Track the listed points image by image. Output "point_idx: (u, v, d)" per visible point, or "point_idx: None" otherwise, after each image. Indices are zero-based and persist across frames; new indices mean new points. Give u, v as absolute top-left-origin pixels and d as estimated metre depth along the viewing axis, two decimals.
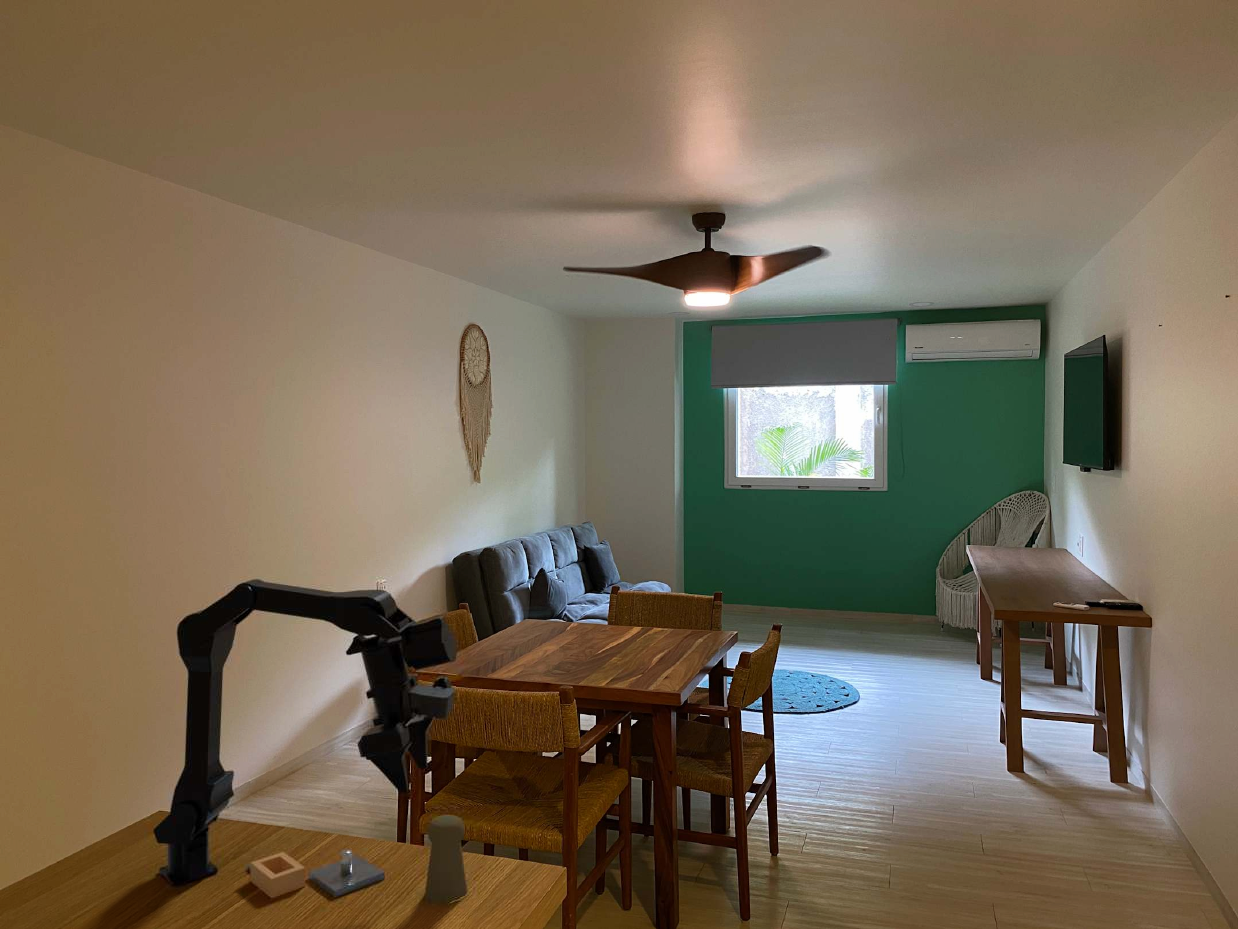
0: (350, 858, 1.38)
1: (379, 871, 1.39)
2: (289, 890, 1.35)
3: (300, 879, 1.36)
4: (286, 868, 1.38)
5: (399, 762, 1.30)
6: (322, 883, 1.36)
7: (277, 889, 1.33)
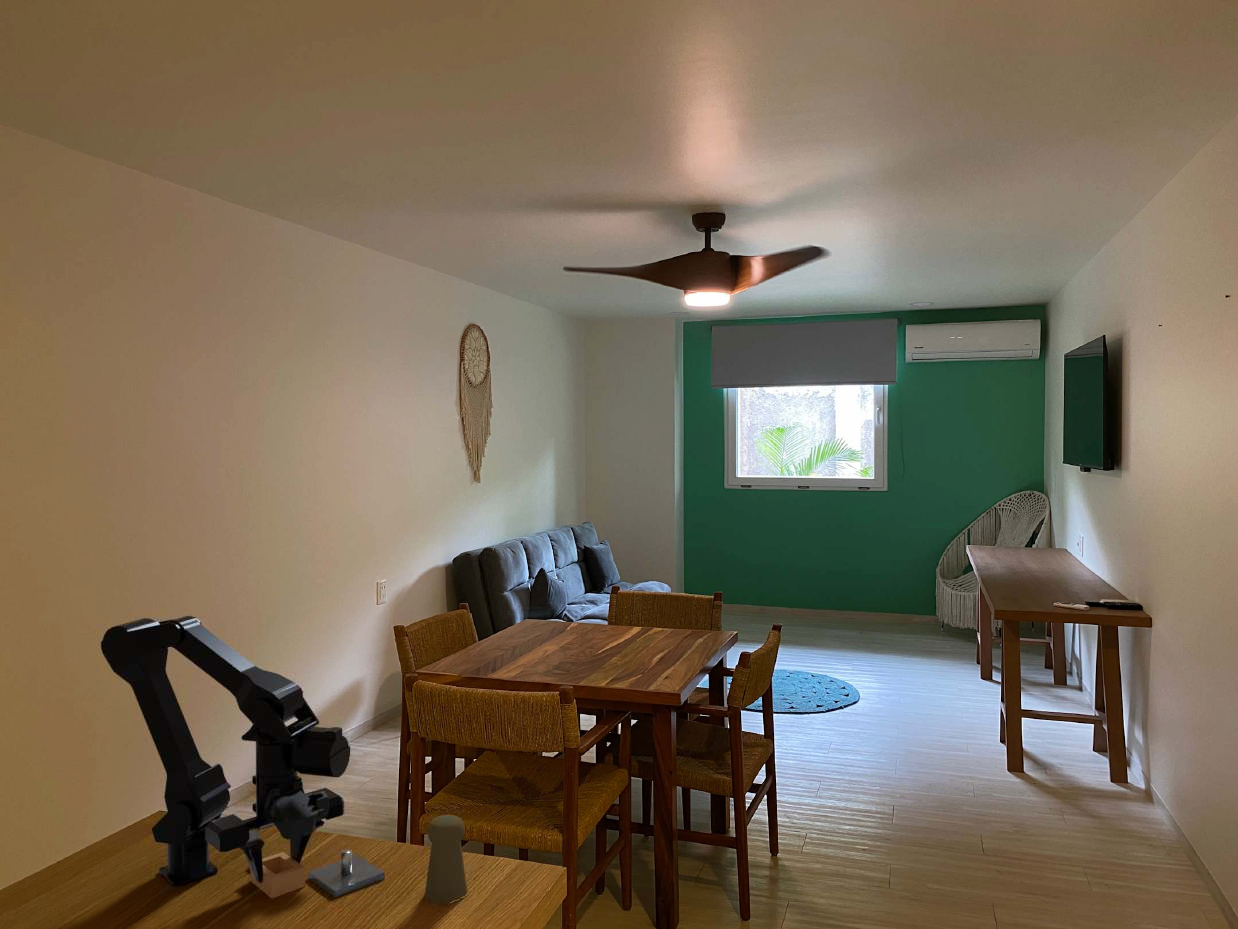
0: (350, 858, 1.38)
1: (379, 871, 1.39)
2: (289, 890, 1.35)
3: (300, 879, 1.36)
4: (286, 868, 1.38)
5: (251, 855, 1.33)
6: (322, 883, 1.36)
7: (277, 889, 1.33)
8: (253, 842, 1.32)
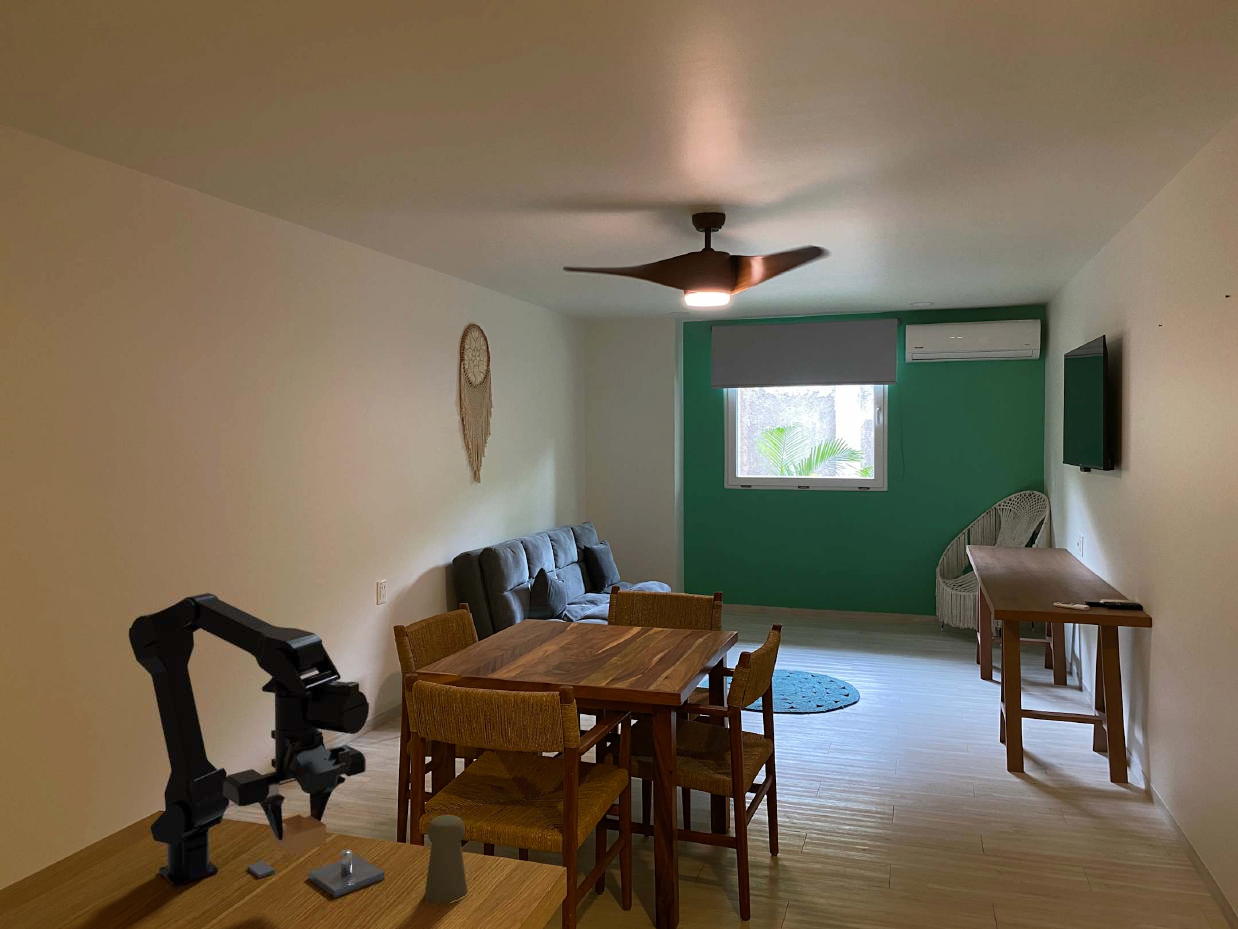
0: (350, 858, 1.38)
1: (379, 871, 1.39)
2: (310, 848, 1.30)
3: (321, 837, 1.31)
4: (306, 827, 1.34)
5: (270, 811, 1.28)
6: (322, 883, 1.36)
7: (298, 846, 1.29)
8: (273, 797, 1.27)
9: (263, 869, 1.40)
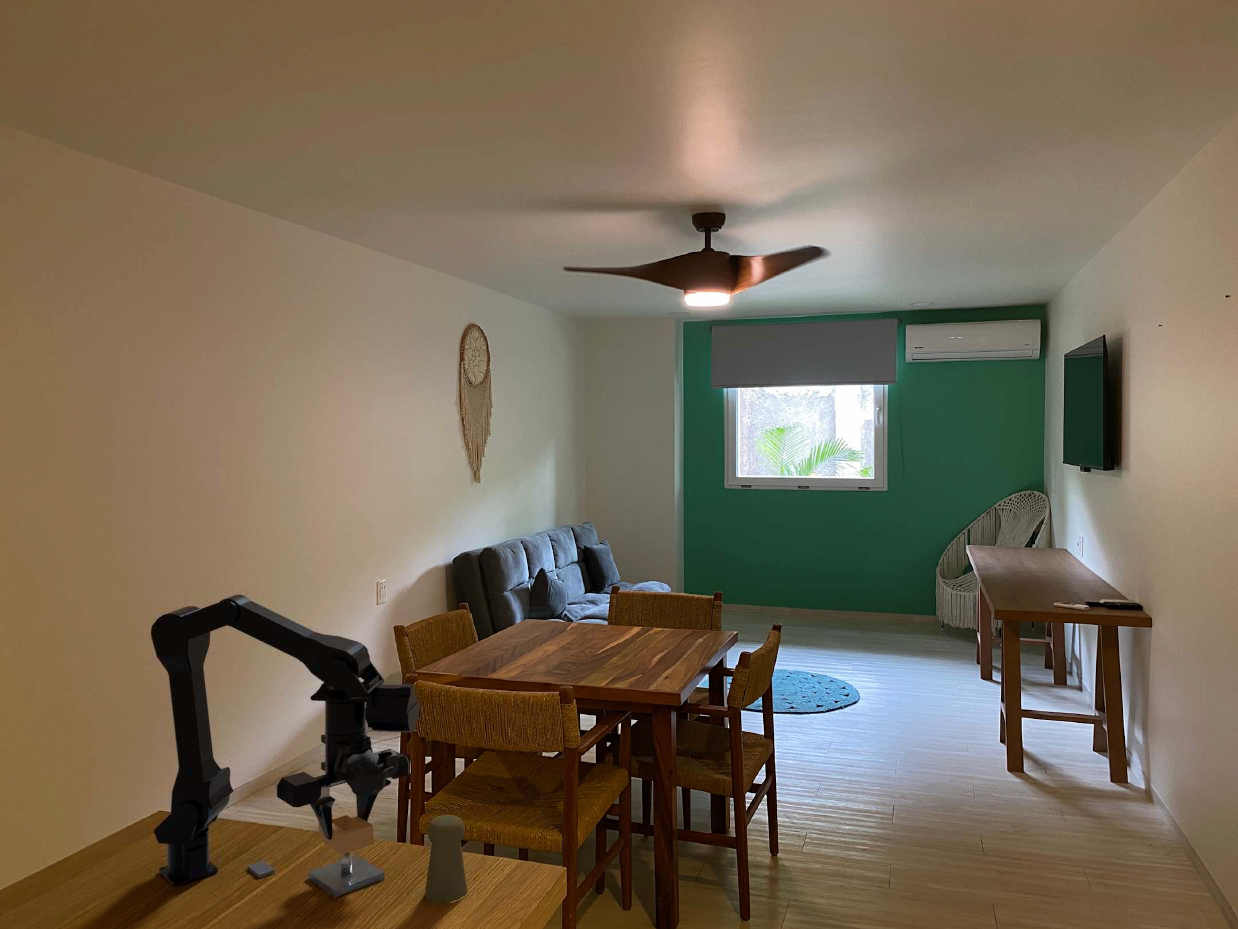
0: (350, 858, 1.38)
1: (379, 871, 1.39)
2: (358, 847, 1.36)
3: (369, 836, 1.37)
4: (353, 827, 1.40)
5: (321, 812, 1.34)
6: (322, 883, 1.36)
7: (347, 845, 1.35)
8: (324, 799, 1.33)
9: (263, 869, 1.40)
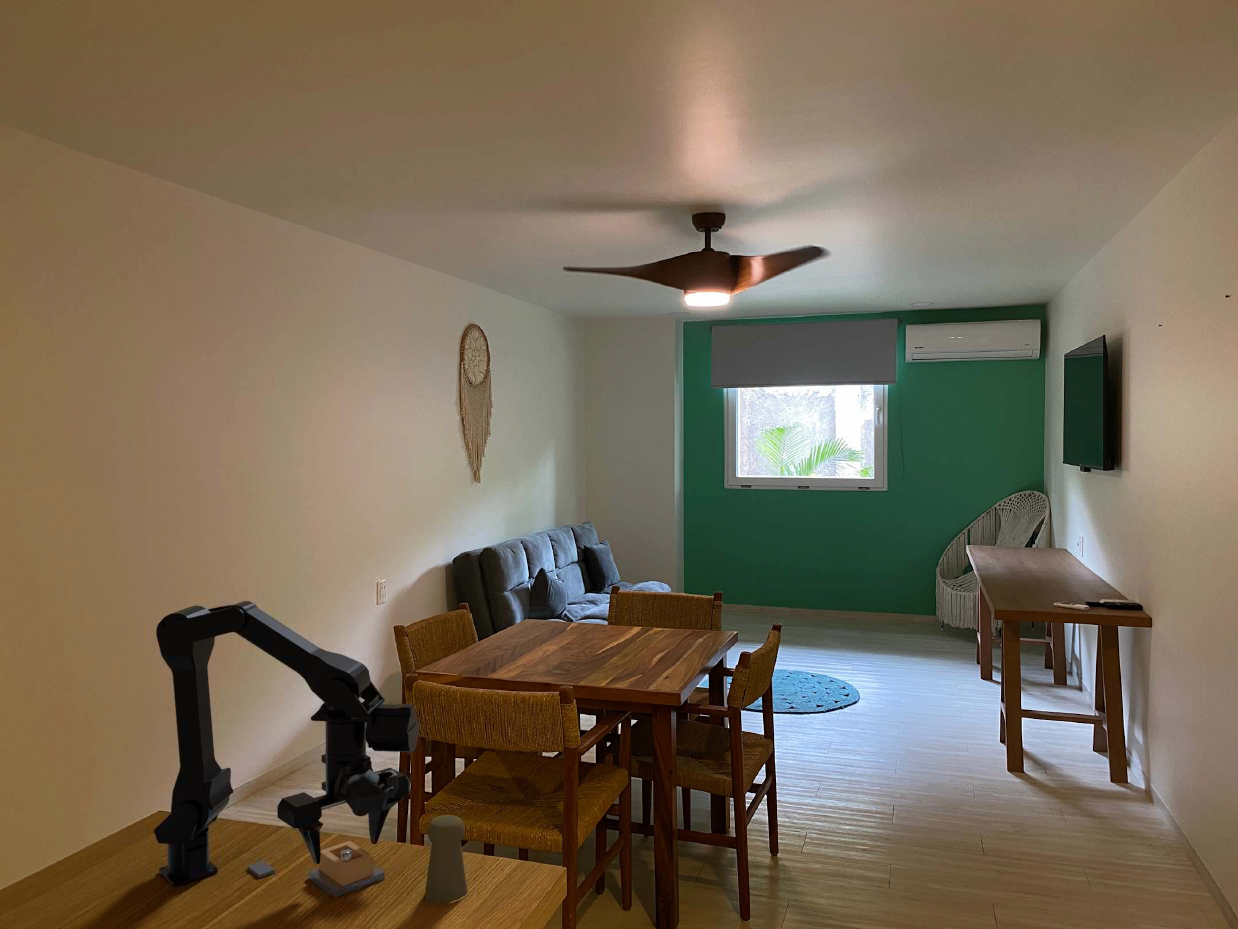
0: (350, 858, 1.38)
1: (379, 871, 1.39)
2: (359, 878, 1.36)
3: (369, 867, 1.37)
4: (353, 857, 1.40)
5: (309, 836, 1.33)
6: (322, 883, 1.36)
7: (347, 877, 1.35)
8: (312, 823, 1.32)
9: (263, 869, 1.40)
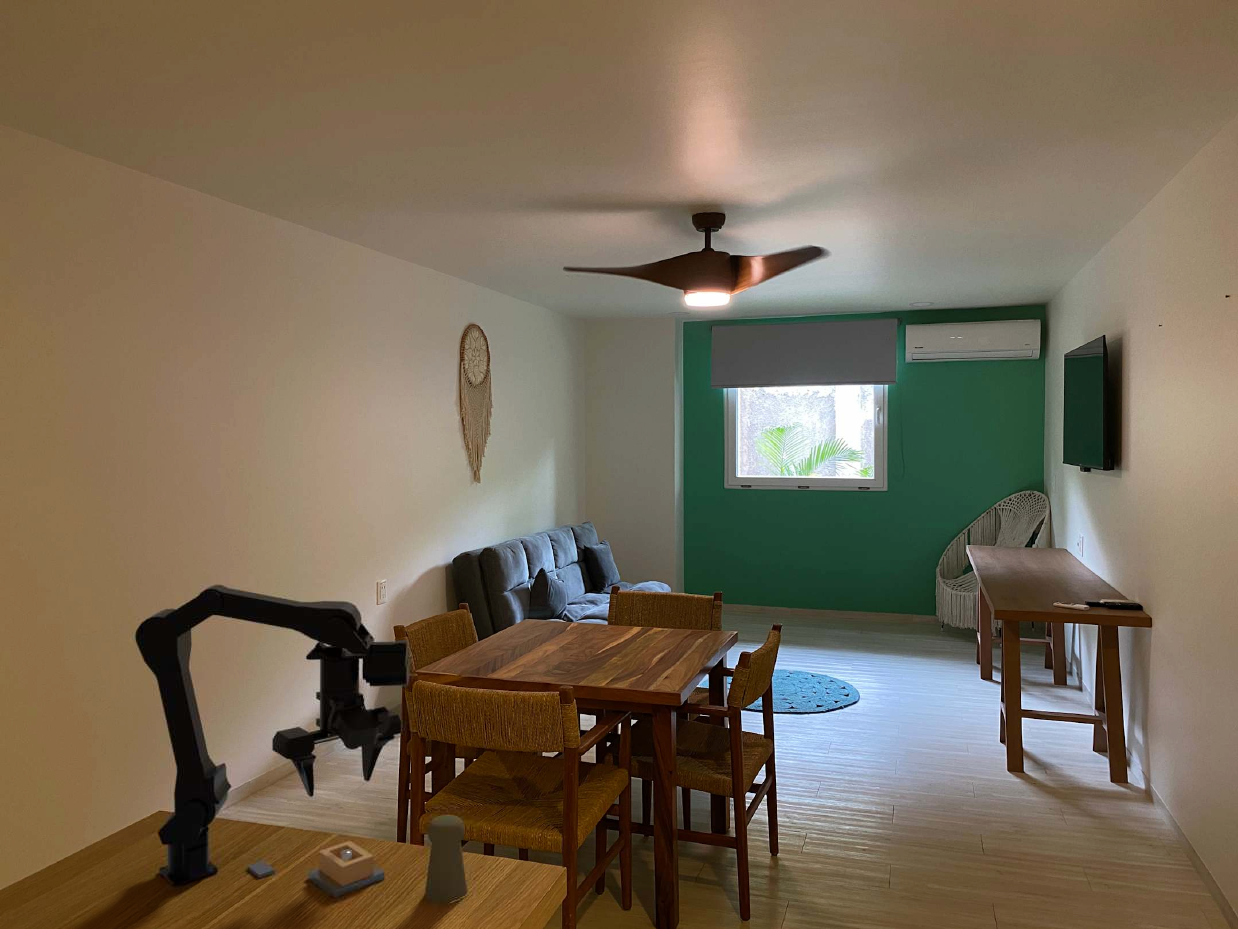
0: (350, 858, 1.38)
1: (379, 871, 1.39)
2: (359, 878, 1.36)
3: (369, 867, 1.37)
4: (353, 857, 1.40)
5: (303, 768, 1.37)
6: (322, 883, 1.36)
7: (347, 877, 1.35)
8: (305, 755, 1.36)
9: (263, 869, 1.40)
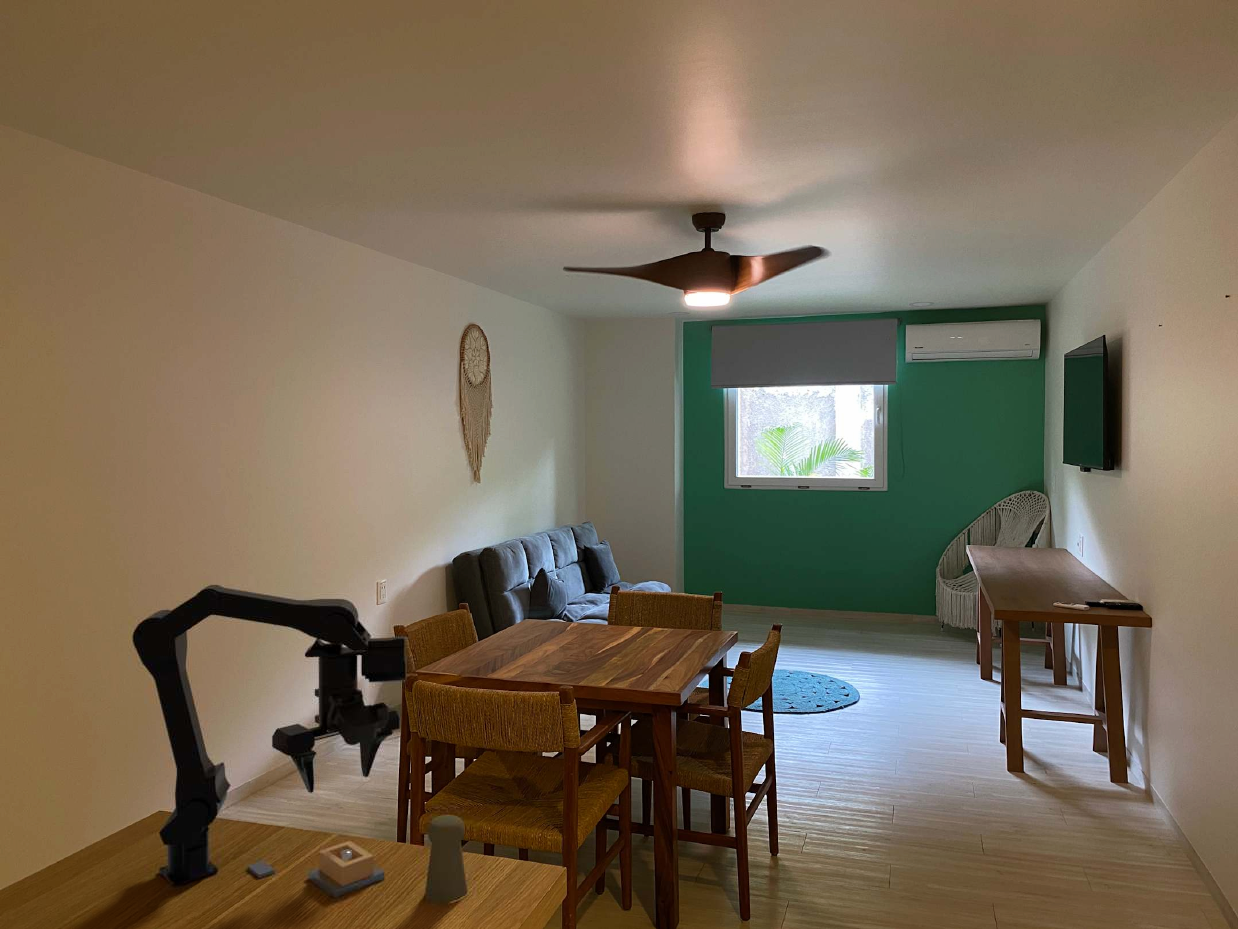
0: (350, 858, 1.38)
1: (379, 871, 1.39)
2: (359, 878, 1.36)
3: (369, 867, 1.37)
4: (353, 857, 1.40)
5: (303, 765, 1.38)
6: (322, 883, 1.36)
7: (347, 877, 1.35)
8: (305, 752, 1.38)
9: (263, 869, 1.40)
